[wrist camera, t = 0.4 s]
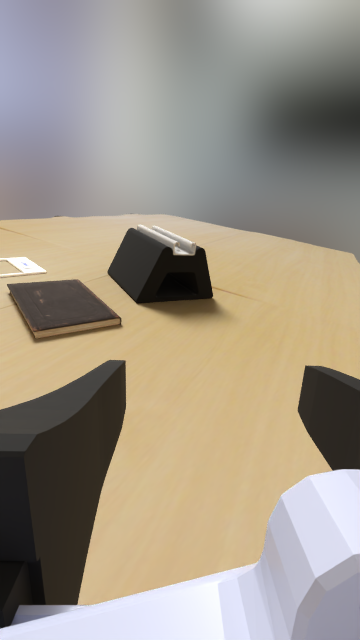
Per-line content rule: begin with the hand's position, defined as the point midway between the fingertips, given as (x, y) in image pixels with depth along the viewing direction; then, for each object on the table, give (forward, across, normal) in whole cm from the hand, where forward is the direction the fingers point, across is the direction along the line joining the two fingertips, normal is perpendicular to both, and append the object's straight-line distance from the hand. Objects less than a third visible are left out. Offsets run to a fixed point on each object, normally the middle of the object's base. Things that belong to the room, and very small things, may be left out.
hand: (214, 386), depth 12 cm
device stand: (+72, +6, +8) cm, 73 cm away
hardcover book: (+50, +25, +10) cm, 56 cm away
